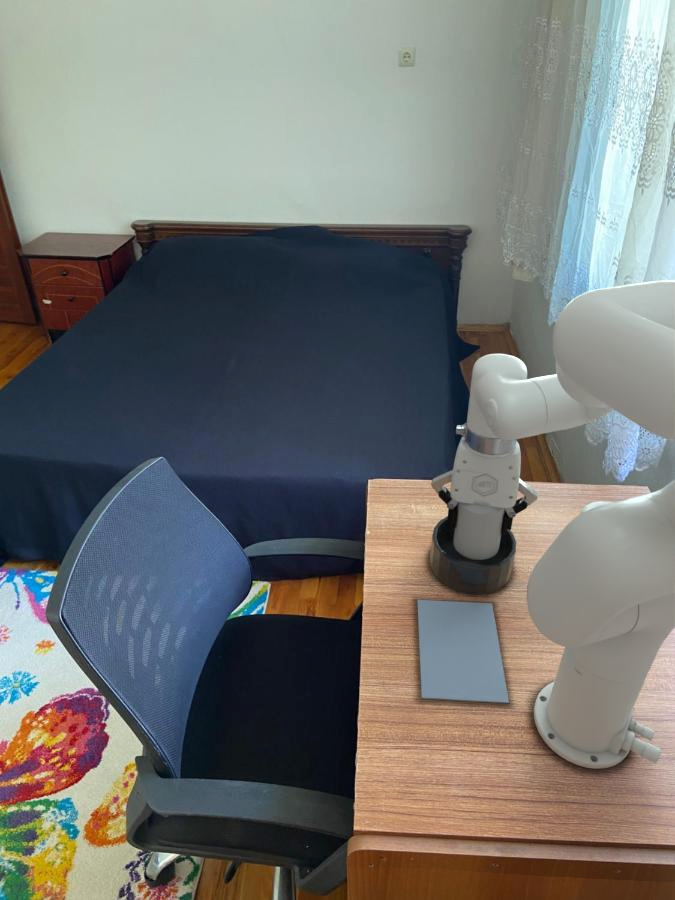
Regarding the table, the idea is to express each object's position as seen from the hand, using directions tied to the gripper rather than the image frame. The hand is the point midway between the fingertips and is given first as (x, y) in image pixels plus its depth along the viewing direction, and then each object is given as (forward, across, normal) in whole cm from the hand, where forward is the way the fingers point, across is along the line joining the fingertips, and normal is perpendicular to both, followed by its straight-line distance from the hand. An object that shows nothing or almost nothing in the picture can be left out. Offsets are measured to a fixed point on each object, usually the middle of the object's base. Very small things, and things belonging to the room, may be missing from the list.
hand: (478, 526), depth 105 cm
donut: (+9, +23, +16) cm, 30 cm away
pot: (+9, 0, +1) cm, 9 cm away
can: (+5, 0, 0) cm, 5 cm away
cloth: (+10, -1, -17) cm, 20 cm away
